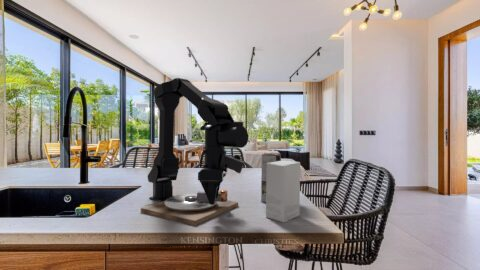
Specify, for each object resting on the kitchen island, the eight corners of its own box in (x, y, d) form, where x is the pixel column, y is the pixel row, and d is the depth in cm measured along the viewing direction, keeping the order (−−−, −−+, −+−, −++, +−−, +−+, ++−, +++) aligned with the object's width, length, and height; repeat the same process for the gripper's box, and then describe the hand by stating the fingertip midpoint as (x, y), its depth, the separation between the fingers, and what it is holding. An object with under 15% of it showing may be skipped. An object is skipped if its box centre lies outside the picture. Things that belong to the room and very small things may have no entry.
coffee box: (279, 203, 91) (280, 155, 90) (260, 202, 92) (261, 154, 92) (281, 196, 100) (281, 153, 99) (263, 195, 101) (264, 152, 100)
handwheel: (156, 210, 76) (156, 195, 76) (174, 196, 92) (174, 184, 92) (223, 212, 75) (223, 197, 74) (230, 198, 90) (230, 185, 90)
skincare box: (282, 211, 82) (283, 159, 81) (301, 216, 77) (302, 161, 77) (264, 217, 76) (265, 162, 75) (283, 223, 71) (284, 164, 71)
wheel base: (140, 212, 80) (140, 208, 80) (188, 197, 98) (188, 193, 98) (195, 225, 69) (195, 220, 69) (238, 205, 87) (238, 202, 87)
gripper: (242, 148, 68) (241, 210, 68) (243, 145, 86) (242, 194, 86) (198, 147, 68) (197, 209, 68) (208, 145, 87) (207, 193, 87)
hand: (213, 200), depth 77 cm, fingers open, 7 cm apart
